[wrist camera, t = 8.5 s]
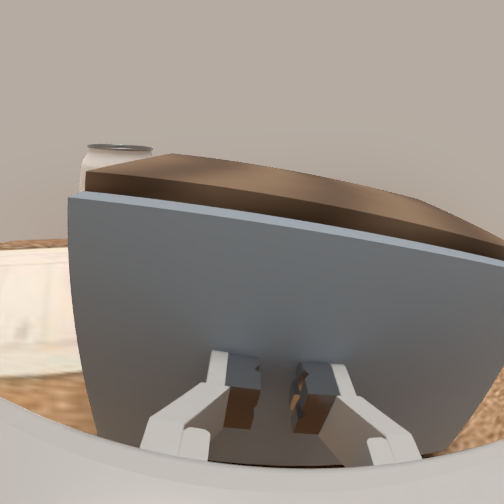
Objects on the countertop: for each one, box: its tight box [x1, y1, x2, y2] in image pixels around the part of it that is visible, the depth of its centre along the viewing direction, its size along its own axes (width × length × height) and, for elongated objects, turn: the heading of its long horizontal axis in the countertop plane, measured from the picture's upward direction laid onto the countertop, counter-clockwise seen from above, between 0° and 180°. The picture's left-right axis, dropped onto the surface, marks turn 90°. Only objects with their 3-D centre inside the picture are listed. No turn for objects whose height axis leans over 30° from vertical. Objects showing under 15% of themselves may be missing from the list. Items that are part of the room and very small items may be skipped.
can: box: [80, 144, 153, 192], centre depth 26 cm, size 6×6×12 cm
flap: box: [68, 191, 504, 466], centre depth 11 cm, size 18×1×10 cm, turn 91°
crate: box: [85, 154, 504, 261], centre depth 17 cm, size 18×12×12 cm, turn 89°
